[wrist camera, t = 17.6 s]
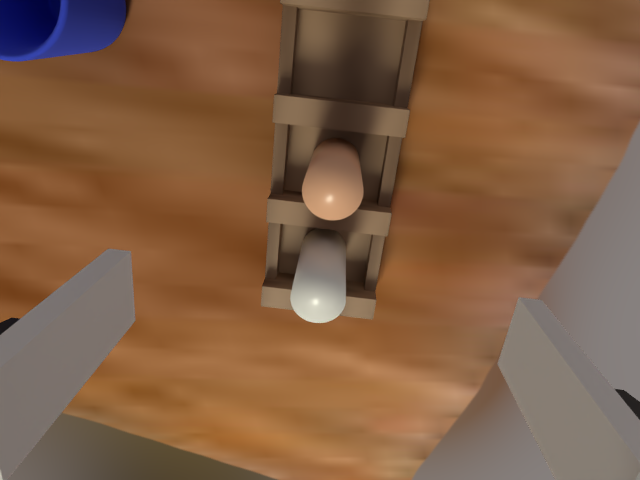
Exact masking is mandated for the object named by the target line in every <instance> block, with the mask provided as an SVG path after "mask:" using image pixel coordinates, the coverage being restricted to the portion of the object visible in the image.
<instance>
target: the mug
mask: <svg viewBox="0 0 640 480" xmlns="http://www.w3.org/2000/svg"><path fill="white" fill-rule="evenodd" d="M125 19H126V3H125V0H0V59H2V60H7V61H27V60H34V59H42V58H50V57H57V56H65V55H72V54H80V53H88V52H94V51H98V50H101V49H103V48H105V47H107V46H109V45H110V44H112V43H113V42H114V41H115V40H116V39H117V38H118V36H119V35H120V33H121V31H122V29H123V26H124V23H125Z"/></svg>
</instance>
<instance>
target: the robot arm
mask: <svg viewBox="0 0 640 480" xmlns="http://www.w3.org/2000/svg"><path fill="white" fill-rule="evenodd" d="M134 322H135V309H134V293H133V278H132V262H131V251H124V250H115V249H107V250H106V251H105V252H104V253H102V254H101V255H100V256H99V257H97V258H96V259H95V260H94V261H92V262H91V263H90V264H89V265H87V266H86V267H85V268H83V269H82V270H81V271H80V272H78V273H77V274H76V275H75V276H73V277H72V278H71V279H70V280H68V281H67V282H66V283H65V284H63V285H62V286H61V287H60V288H58V289H57V290H56V291H55V292H53V293H52V294H51V295H50V296H48V297H47V298H46V299H45V300H43V301H42V302H41V303H40V304H38V305H37V306H36V307H35V308H33V309H32V310H31V311H30V312H28V313H27V314H26V315H25V316H23V317H22V318H21V319H18V318H10V319H8V320H6V321H3V322H1V323H0V480H8V478H9V477H10V476H11V475H12V473H13V472H14V471H15V470H16V468H17V467H18V466H19V465H20V464H21V462H22V461H23V460H24V459H25V457H26V456H27V455H28V454H29V452H30V451H31V450H32V449H33V447H34V446H35V445H36V443H37V442H38V441H39V440H40V439H41V437H42V436H43V435H44V434H45V432H46V431H47V430H48V429H49V427H50V426H51V425H52V424H53V422H54V421H55V420H56V419H57V417H58V416H59V415H60V414H61V412H62V411H63V410H64V409H65V408H66V406H67V405H68V404H69V403H70V401H71V400H72V399H73V398H74V396H75V395H76V394H77V393H78V391H79V390H80V389H81V388H82V386H83V385H84V384H85V383H86V381H87V380H88V379H89V378H90V376H91V375H92V374H93V373H94V371H95V370H96V369H97V368H98V366H99V365H100V364H101V363H102V361H103V360H104V359H105V358H106V357H107V355H108V354H109V353H110V352H111V350H112V349H113V348H114V347H115V345H116V344H117V343H118V342H119V340H120V339H121V338H122V337H123V335H124V334H125V333H126V332H127V330H128V329H129V328H130V327H131V325H132V324H133V323H134ZM498 366H499V368H500V370H501V372H502V374H503V376H504V378H505V380H506V382H507V384H508V386H509V388H510V390H511V392H512V394H513V396H514V398H515V400H516V402H517V404H518V406H519V408H520V410H521V412H522V414H523V416H524V418H525V420H526V422H527V424H528V426H529V428H530V430H531V432H532V434H533V436H534V438H535V440H536V442H537V444H538V446H539V448H540V450H541V452H542V454H543V456H544V458H545V460H546V462H547V464H548V466H549V468H550V470H551V472H552V474H553V476H554V478H555V480H640V402H639V401H638V400H636V399H635V398H634V397H632V396H631V395H629V394H628V393H627V392H626V391H624V390H618V389H614V388H613V387H612V386H611V384H610V383H609V382H608V381H607V379H606V378H605V377H604V376H603V375H602V373H601V372H600V371H599V370H598V369H597V367H596V366H595V365H594V364H593V362H592V361H591V360H590V359H589V358H588V356H587V355H586V354H585V353H584V351H583V350H582V349H581V348H580V346H579V345H578V344H577V343H576V342H575V340H574V339H573V338H572V337H571V336H570V334H569V333H568V332H567V331H566V330H565V328H564V327H563V326H562V324H561V323H560V322H559V321H558V319H557V318H556V317H555V316H554V315H553V313H552V312H551V311H550V310H549V309H548V307H547V306H546V305H545V304H544V302H543V301H542V300H536V299H528V298H520V297H519V299H518V302H517V305H516V308H515V311H514V314H513V317H512V321H511V324H510V327H509V330H508V333H507V336H506V339H505V343H504V346H503V349H502V352H501V355H500V358H499V361H498Z"/></svg>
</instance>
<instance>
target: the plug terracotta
mask: <svg viewBox="0 0 640 480" xmlns="http://www.w3.org/2000/svg"><path fill="white" fill-rule="evenodd" d="M363 191H364V190H363V182H362V175H361V168H360V161H359V155H358V152H357V150H356V149H355V147H354V146H353V145H352V144H351V143H350V142H348V141H347V140H345V139H342V138H329V139H326V140H324V141H323V142H321V143H320V144H319V145H318V146H317V147H316V149H315V150H314V152H313V155H312V158H311V161H310V164H309V167H308V170H307V173H306V175H305V178H304V181H303V185H302V196H303V200H304V202H305V204H306V206H307V207H308V209H309V210H310V211H311V212H312V213H313V214H314V215H316V216H318V217H320V218H322V219H325V220H340V219H344V218H346V217H348V216H350V215H351V214H352V213H354V212H355V211H356V210H357V208H358V207H359V205H360V204H361V201H362V198H363Z"/></svg>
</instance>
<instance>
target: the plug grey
mask: <svg viewBox="0 0 640 480" xmlns="http://www.w3.org/2000/svg"><path fill="white" fill-rule="evenodd" d="M290 301H291V305H292V307H293V309H294V311H295V312H296V313H297V314H298V315H299V316H300V317H301V318H303V319H305V320H307V321H309V322H313V323H324V322H328V321H331V320H333V319H335V318H336V317H338V316H339V315H340V314H341V312H342V311H343V309H344V307H345V303H346V244H345V241H344V239H343V237H342V236H341V235H340V234H339V233H338V232H337V231H335V230H330V229H321V228H317V229H314V230H312V231H310V232H309V233H308V234H307V235H306V236H305V238H304V240H303V243H302V247H301V251H300V256H299V260H298V264H297V269H296V273H295V278H294V282H293V286H292V291H291V296H290Z"/></svg>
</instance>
